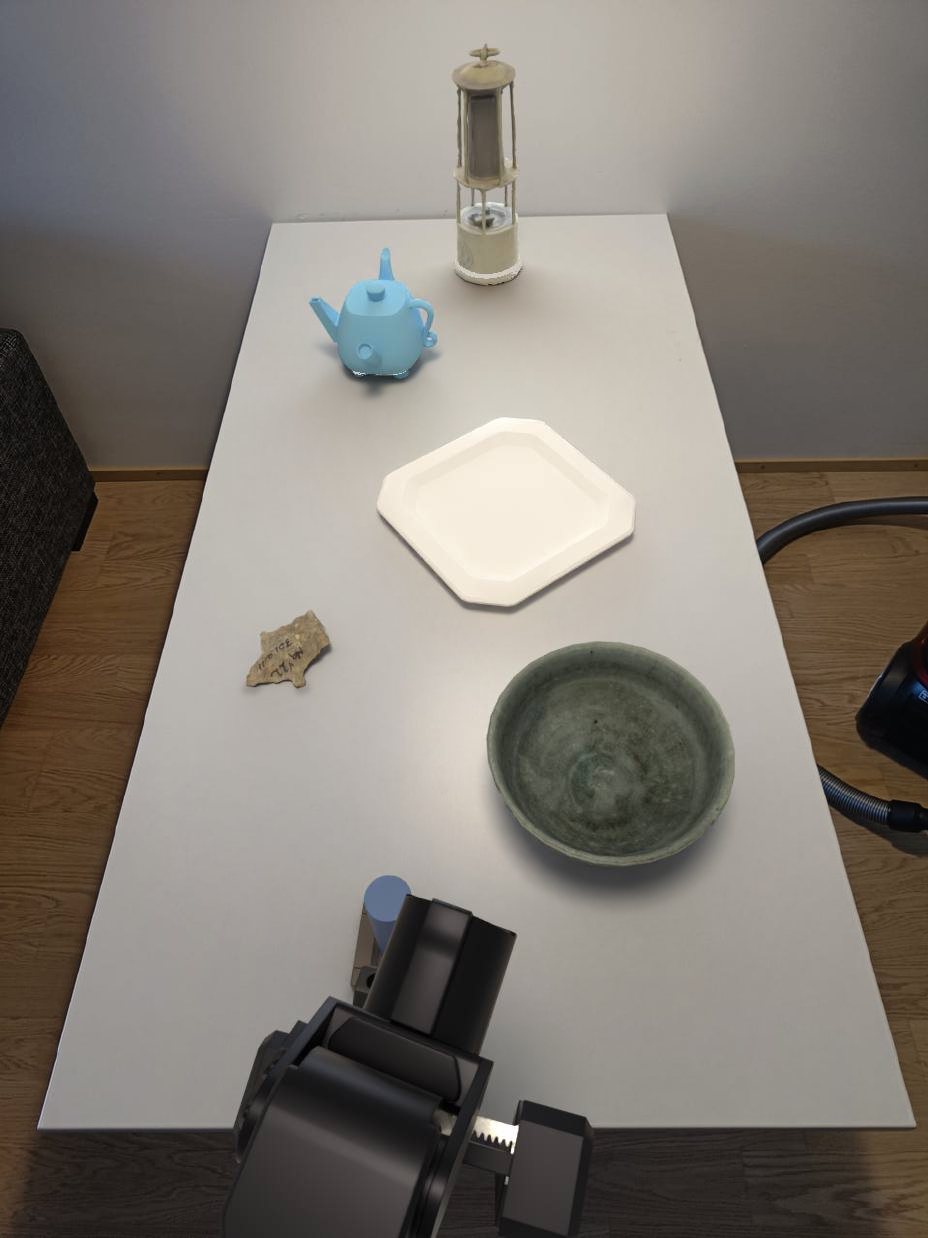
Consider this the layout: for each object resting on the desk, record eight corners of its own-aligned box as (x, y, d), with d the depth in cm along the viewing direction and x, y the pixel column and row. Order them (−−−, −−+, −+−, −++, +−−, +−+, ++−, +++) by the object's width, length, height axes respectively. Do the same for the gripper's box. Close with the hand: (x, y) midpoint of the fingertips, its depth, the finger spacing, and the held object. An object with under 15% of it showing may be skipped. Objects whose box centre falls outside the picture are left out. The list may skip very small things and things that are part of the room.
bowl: (736, 739, 85) (761, 683, 77) (678, 943, 74) (701, 902, 66) (533, 671, 90) (537, 612, 82) (451, 851, 79) (446, 802, 71)
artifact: (223, 657, 89) (300, 595, 91) (230, 664, 92) (305, 604, 94) (267, 711, 88) (345, 647, 90) (273, 716, 91) (348, 654, 93)
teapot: (311, 351, 124) (297, 278, 115) (393, 316, 128) (386, 242, 119) (369, 408, 116) (358, 335, 107) (454, 368, 121) (451, 294, 112)
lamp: (453, 286, 132) (443, 66, 109) (456, 239, 140) (448, 24, 116) (522, 285, 132) (528, 64, 108) (521, 238, 140) (526, 22, 116)
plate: (522, 416, 114) (522, 403, 112) (655, 528, 102) (658, 515, 100) (360, 500, 106) (357, 487, 104) (484, 633, 93) (483, 621, 92)
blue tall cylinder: (407, 984, 72) (392, 931, 61) (374, 960, 73) (354, 905, 63) (431, 948, 74) (420, 891, 63) (398, 926, 75) (382, 866, 64)
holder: (441, 1003, 71) (439, 993, 69) (354, 995, 72) (349, 985, 69) (450, 916, 75) (448, 903, 73) (368, 909, 76) (364, 896, 74)
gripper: (621, 1009, 43) (603, 1030, 56) (265, 917, 46) (329, 958, 60) (579, 1284, 38) (570, 1234, 51) (183, 1158, 41) (274, 1143, 55)
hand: (430, 1130), depth 55 cm, fingers open, 9 cm apart
